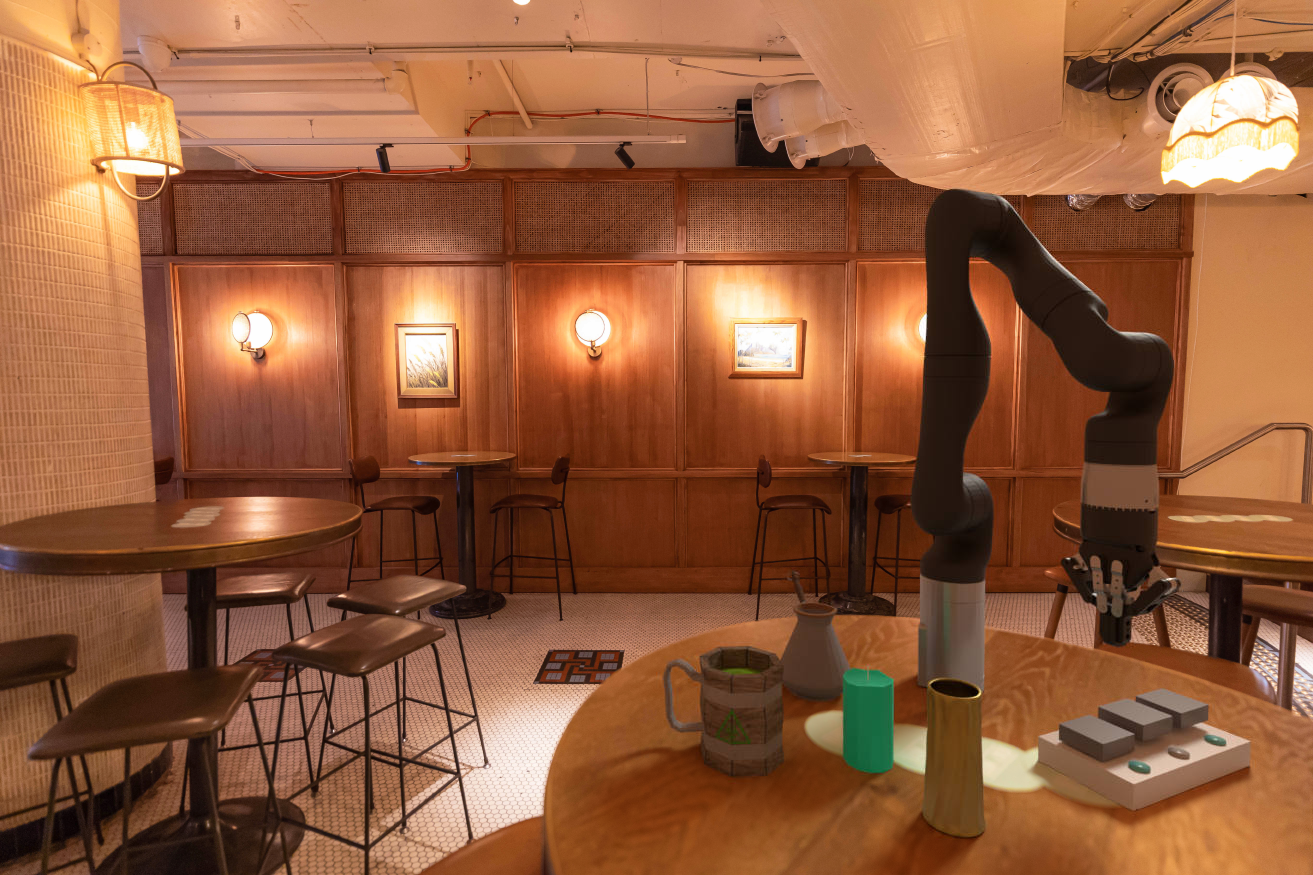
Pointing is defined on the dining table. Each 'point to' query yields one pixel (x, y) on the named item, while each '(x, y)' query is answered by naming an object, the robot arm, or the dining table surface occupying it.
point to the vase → (954, 758)
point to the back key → (1176, 707)
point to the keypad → (1151, 764)
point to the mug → (736, 709)
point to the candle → (868, 720)
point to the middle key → (1136, 719)
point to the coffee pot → (813, 652)
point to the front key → (1096, 737)
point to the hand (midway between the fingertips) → (1115, 644)
